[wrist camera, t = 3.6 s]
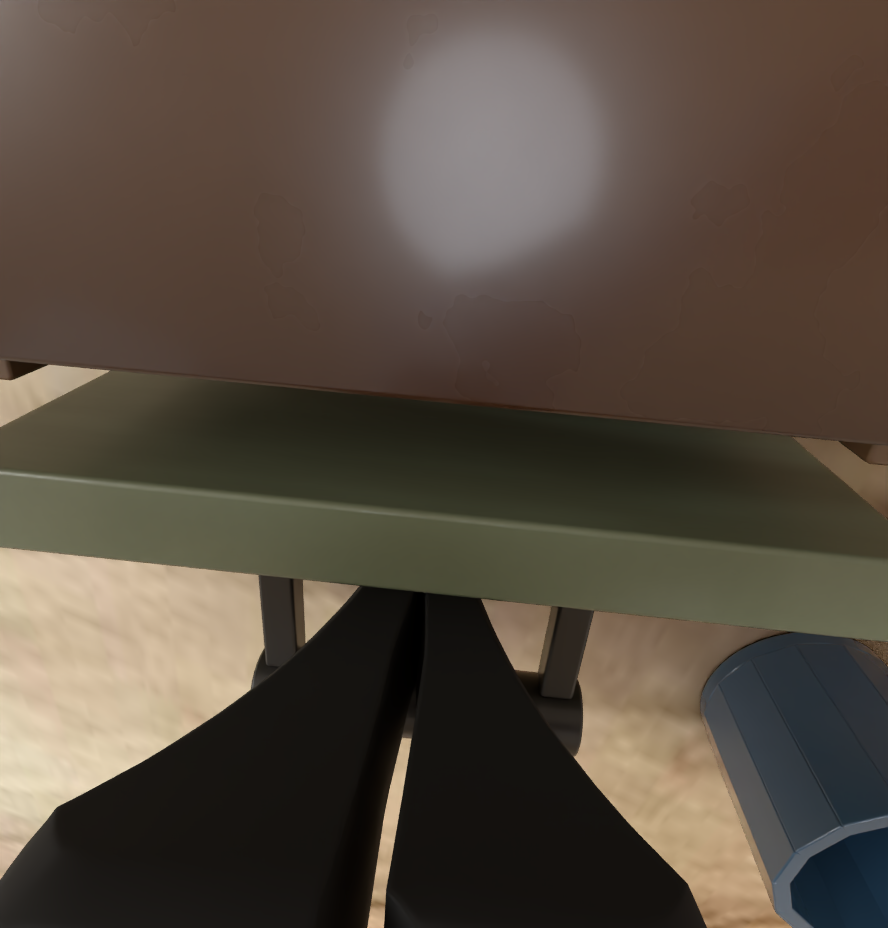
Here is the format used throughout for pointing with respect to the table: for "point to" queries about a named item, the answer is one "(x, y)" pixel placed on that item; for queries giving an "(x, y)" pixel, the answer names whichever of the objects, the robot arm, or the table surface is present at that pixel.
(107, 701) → the table surface
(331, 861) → the robot arm
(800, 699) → the cup
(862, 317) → the cabinet
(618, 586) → the drawer
